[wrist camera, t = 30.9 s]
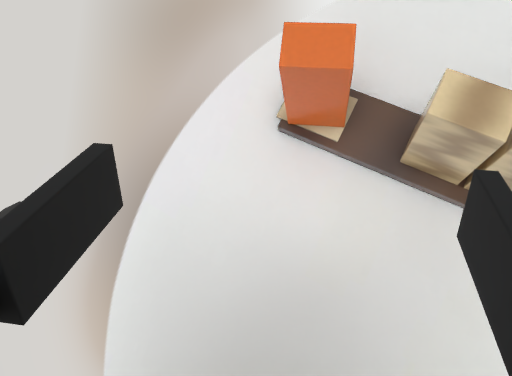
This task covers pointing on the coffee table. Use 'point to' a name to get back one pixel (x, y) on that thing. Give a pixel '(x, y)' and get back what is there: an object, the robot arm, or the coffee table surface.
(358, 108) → the wooden block rack
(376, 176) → the coffee table surface
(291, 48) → the orange rectangular prism
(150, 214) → the coffee table surface
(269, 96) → the coffee table surface
